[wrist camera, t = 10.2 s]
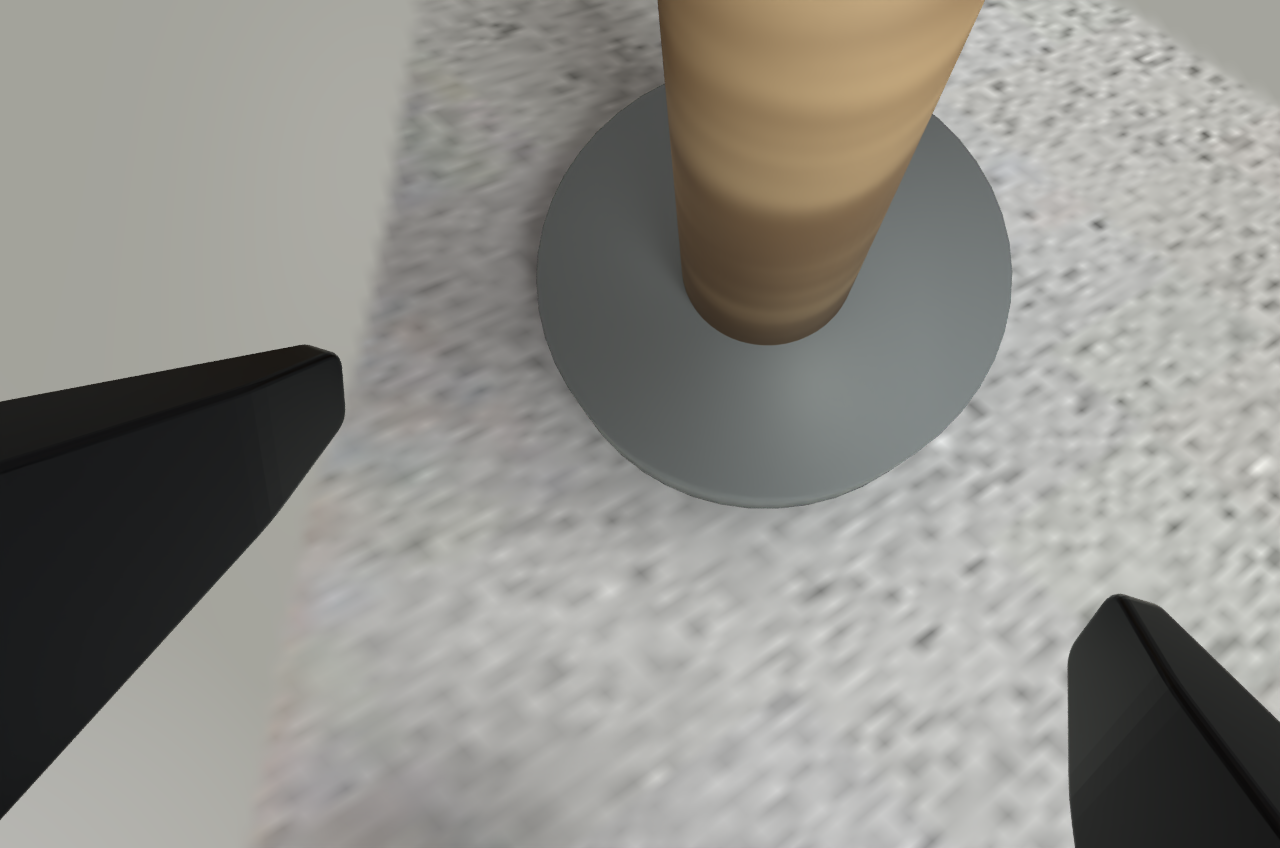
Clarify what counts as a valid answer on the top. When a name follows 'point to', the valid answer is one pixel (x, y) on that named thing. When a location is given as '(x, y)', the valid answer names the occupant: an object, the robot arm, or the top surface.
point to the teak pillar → (794, 144)
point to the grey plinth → (768, 374)
